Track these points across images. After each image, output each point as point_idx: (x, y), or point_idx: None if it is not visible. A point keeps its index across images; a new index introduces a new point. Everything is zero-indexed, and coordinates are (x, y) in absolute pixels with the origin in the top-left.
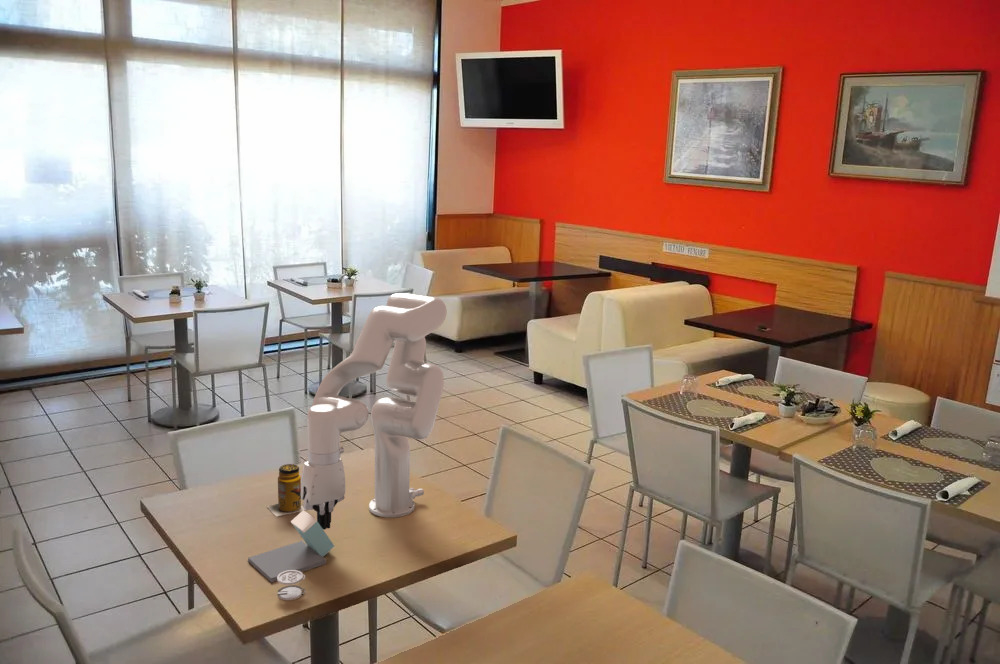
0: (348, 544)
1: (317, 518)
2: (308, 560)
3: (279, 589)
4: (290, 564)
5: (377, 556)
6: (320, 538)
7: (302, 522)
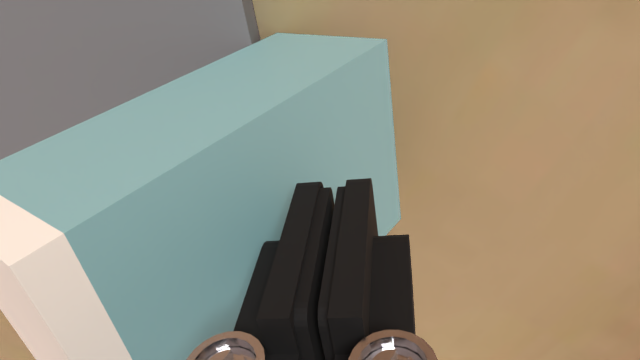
0: (556, 122)
1: (252, 290)
2: None
3: None
4: None
5: (593, 323)
6: None
7: (43, 356)
